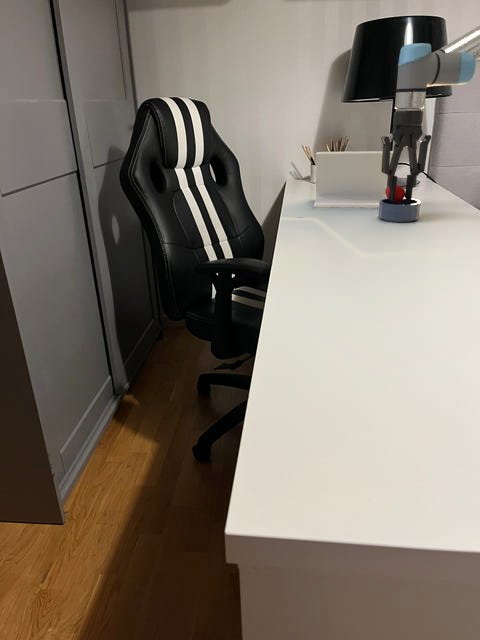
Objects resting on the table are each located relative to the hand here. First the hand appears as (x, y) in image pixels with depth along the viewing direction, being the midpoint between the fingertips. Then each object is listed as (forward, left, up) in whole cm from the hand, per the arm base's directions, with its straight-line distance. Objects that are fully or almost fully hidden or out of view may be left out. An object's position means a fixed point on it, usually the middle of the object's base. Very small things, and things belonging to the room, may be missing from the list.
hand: (399, 199), depth 142 cm
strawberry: (0, 0, +1) cm, 1 cm away
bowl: (0, 0, -6) cm, 6 cm away
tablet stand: (+4, -28, -6) cm, 29 cm away
